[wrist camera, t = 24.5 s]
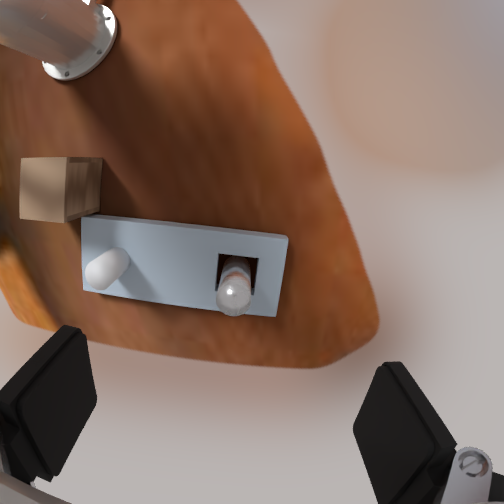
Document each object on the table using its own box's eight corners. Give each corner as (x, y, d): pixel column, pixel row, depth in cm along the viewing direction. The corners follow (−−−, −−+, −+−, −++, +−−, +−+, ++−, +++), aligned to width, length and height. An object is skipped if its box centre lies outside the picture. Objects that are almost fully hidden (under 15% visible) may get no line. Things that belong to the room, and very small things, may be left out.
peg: (224, 253, 39) (217, 282, 29) (251, 257, 39) (253, 286, 30) (222, 279, 40) (214, 314, 30) (248, 282, 40) (248, 317, 30)
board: (90, 213, 37) (56, 225, 29) (285, 235, 39) (296, 253, 30) (91, 283, 40) (62, 308, 32) (274, 308, 41) (280, 341, 33)
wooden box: (60, 157, 35) (21, 158, 26) (102, 157, 35) (66, 157, 27) (58, 207, 37) (19, 218, 28) (99, 210, 37) (64, 223, 29)
